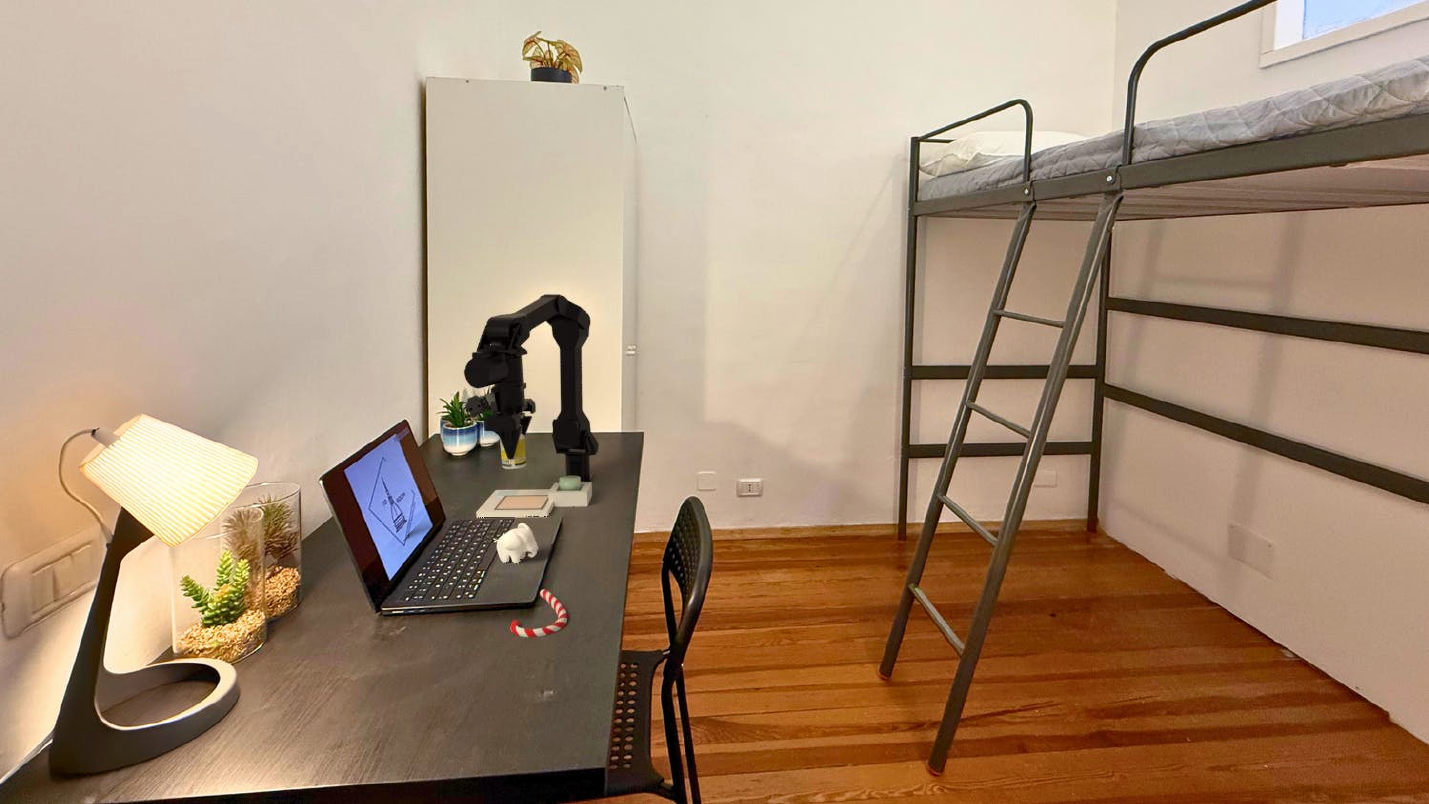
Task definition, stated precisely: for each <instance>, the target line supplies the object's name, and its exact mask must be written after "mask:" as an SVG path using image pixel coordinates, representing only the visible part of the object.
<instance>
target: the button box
mask: <svg viewBox="0 0 1429 804" xmlns="http://www.w3.org/2000/svg"><path fill="white" fill-rule="evenodd" d="M592 486H593V483H592V481H590V482H581V490H579V491H560V482H554V483H553V484H552V486H551V487H550V488H549V489H550V491H549V492H548V501H553V508H557V507H559V508H560V507H561V508H564V507H565V508H566V507H571V508H572V507H573V506H574V507H588V506H589V503H590V502H591V499H592V496H593V487H592Z"/></svg>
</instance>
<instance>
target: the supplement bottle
mask: <svg viewBox="0 0 1429 804" xmlns="http://www.w3.org/2000/svg"><path fill="white" fill-rule="evenodd" d="M520 426H521V425H520ZM521 433H522V431H521ZM499 440H500V441H499V442H500V455H501V456H500V457H501V465H502V469H503V468H504V469H506V470H515V469H522V468H524V467H525V466H527V460H526V459H527V457H526V445H525V444H526V443H525V438H524V435H523V434H521V435H520V438H519V442H518V445H517V449H516V452H515V455H514V458H513V459H508V458H507V455H506V453H505V450H504V447H503V444H502V442H501V439H500V438H499Z"/></svg>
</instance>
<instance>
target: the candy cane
mask: <svg viewBox="0 0 1429 804" xmlns="http://www.w3.org/2000/svg"><path fill="white" fill-rule="evenodd" d="M539 596H540V597H541V598H543V600H545V602H546V603H548V604H549V605H550V606H551V608H552V609H553V610H554V611H555V613H556V615H557V617H558V618H557V620H556V621H555V622H554V623H552V624H551V625H547V626H544V627H540V628H539V627H538V628H525V627H524V628H523V627H520V625H521V623H520V621H518V619H515V620H513V621H512V622H511V625H510V628H509V629H510V631H511V633H512V634H514V635H516V636H519V637H523V638H539V637H544V636H548V635H552V634H553V633H556V632H558V631H560V630H561V629H563V628H564V627H565V625H566V624H567V621H568V614H567V611H566V608H565V607H564V606H563V604H562V603H561V602H560V601H559V600H558V599H557V597H556V596H554V595H553V594H552V593H551V592H550V591H549V590H547V589H545V588H544V589H541V591H539Z"/></svg>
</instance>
